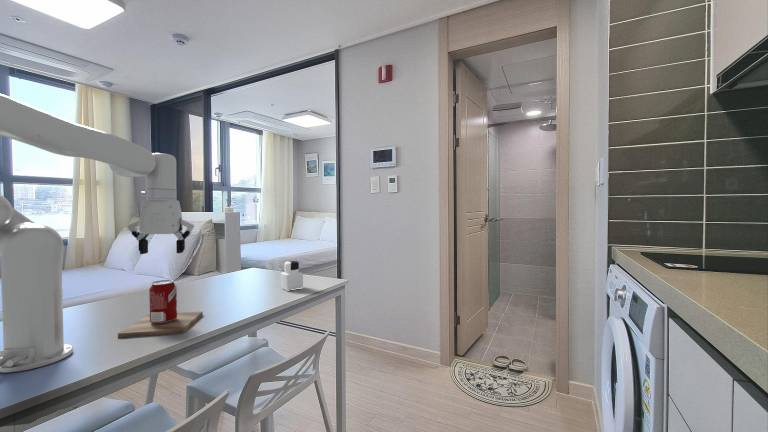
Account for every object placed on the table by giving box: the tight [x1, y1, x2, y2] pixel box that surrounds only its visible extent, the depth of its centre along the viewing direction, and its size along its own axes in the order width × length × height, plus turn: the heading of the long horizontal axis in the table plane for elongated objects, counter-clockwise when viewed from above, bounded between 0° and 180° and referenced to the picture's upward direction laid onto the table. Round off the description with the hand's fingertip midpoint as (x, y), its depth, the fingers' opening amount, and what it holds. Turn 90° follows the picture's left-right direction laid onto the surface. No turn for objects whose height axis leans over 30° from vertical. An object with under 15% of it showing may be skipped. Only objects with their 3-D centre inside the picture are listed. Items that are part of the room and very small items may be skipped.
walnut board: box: [117, 311, 203, 339], centre depth 98 cm, size 16×16×1 cm
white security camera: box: [280, 260, 304, 290], centre depth 142 cm, size 7×7×12 cm
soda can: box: [148, 279, 178, 324], centre depth 98 cm, size 7×7×12 cm
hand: (162, 253), depth 98 cm, fingers open, 9 cm apart
